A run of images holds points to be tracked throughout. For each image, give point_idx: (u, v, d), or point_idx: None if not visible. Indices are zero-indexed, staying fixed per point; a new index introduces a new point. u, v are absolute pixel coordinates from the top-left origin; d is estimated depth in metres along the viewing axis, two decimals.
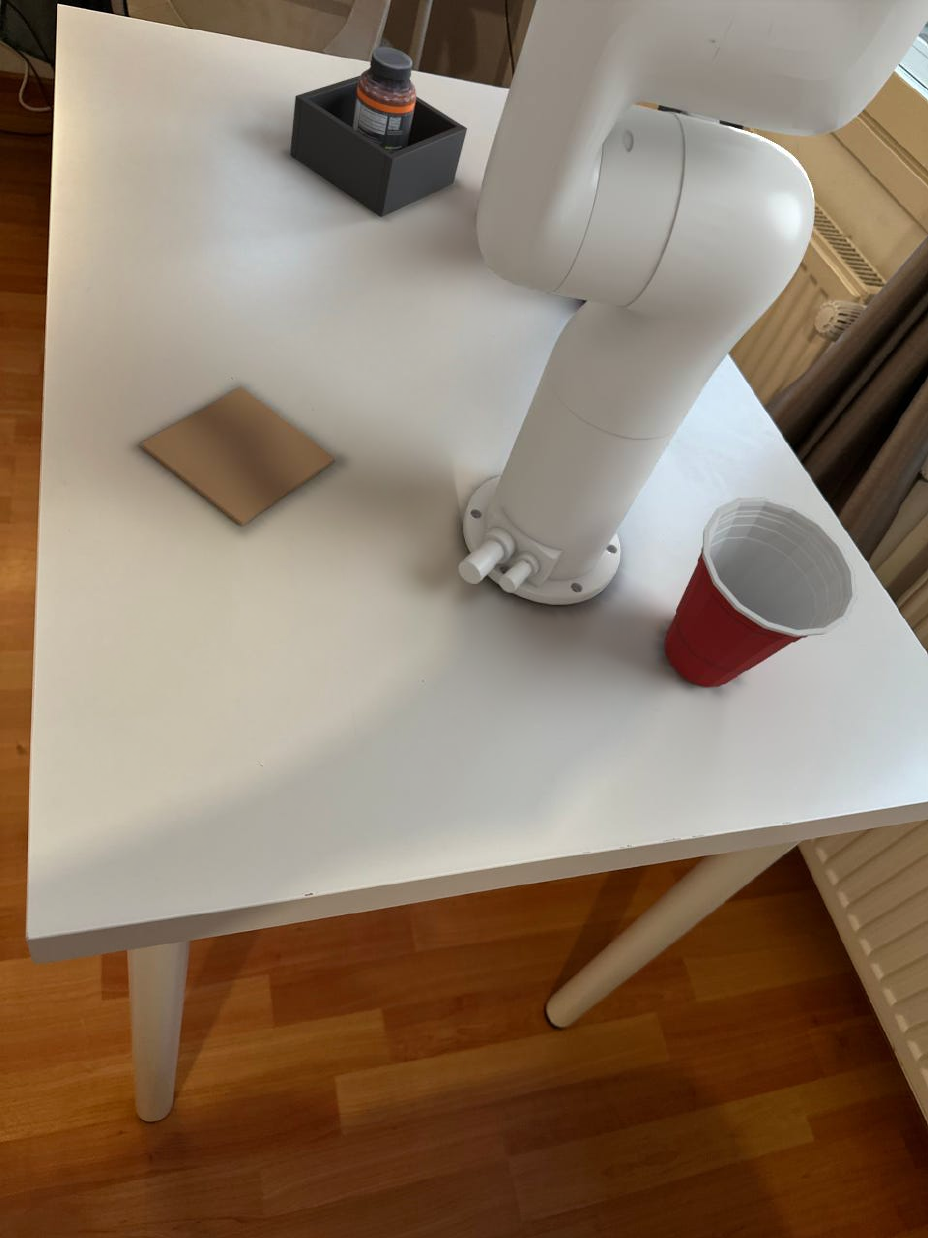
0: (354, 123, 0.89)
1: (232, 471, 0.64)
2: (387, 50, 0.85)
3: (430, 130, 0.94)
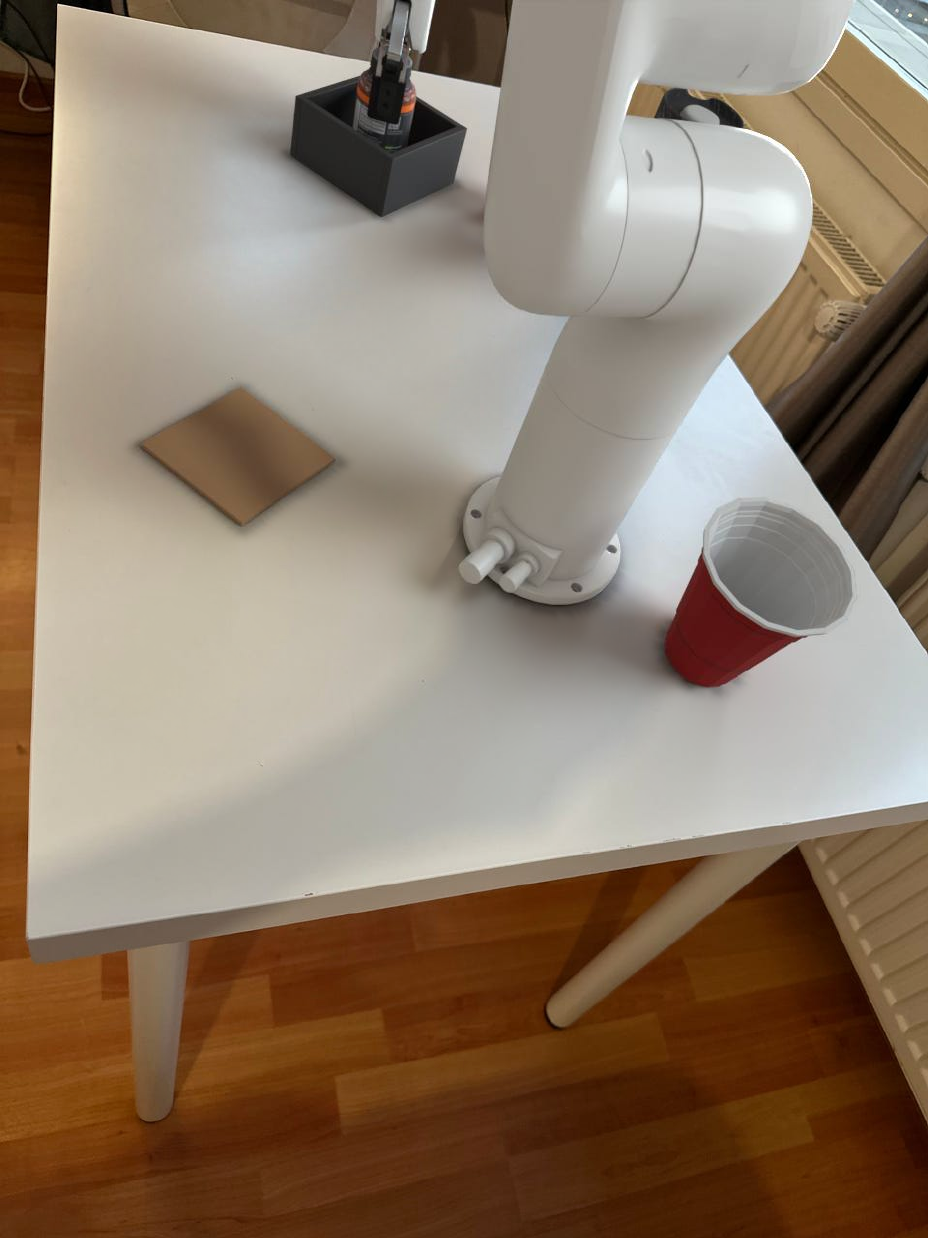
0: (354, 123, 0.89)
1: (232, 471, 0.64)
2: (387, 50, 0.85)
3: (430, 130, 0.94)
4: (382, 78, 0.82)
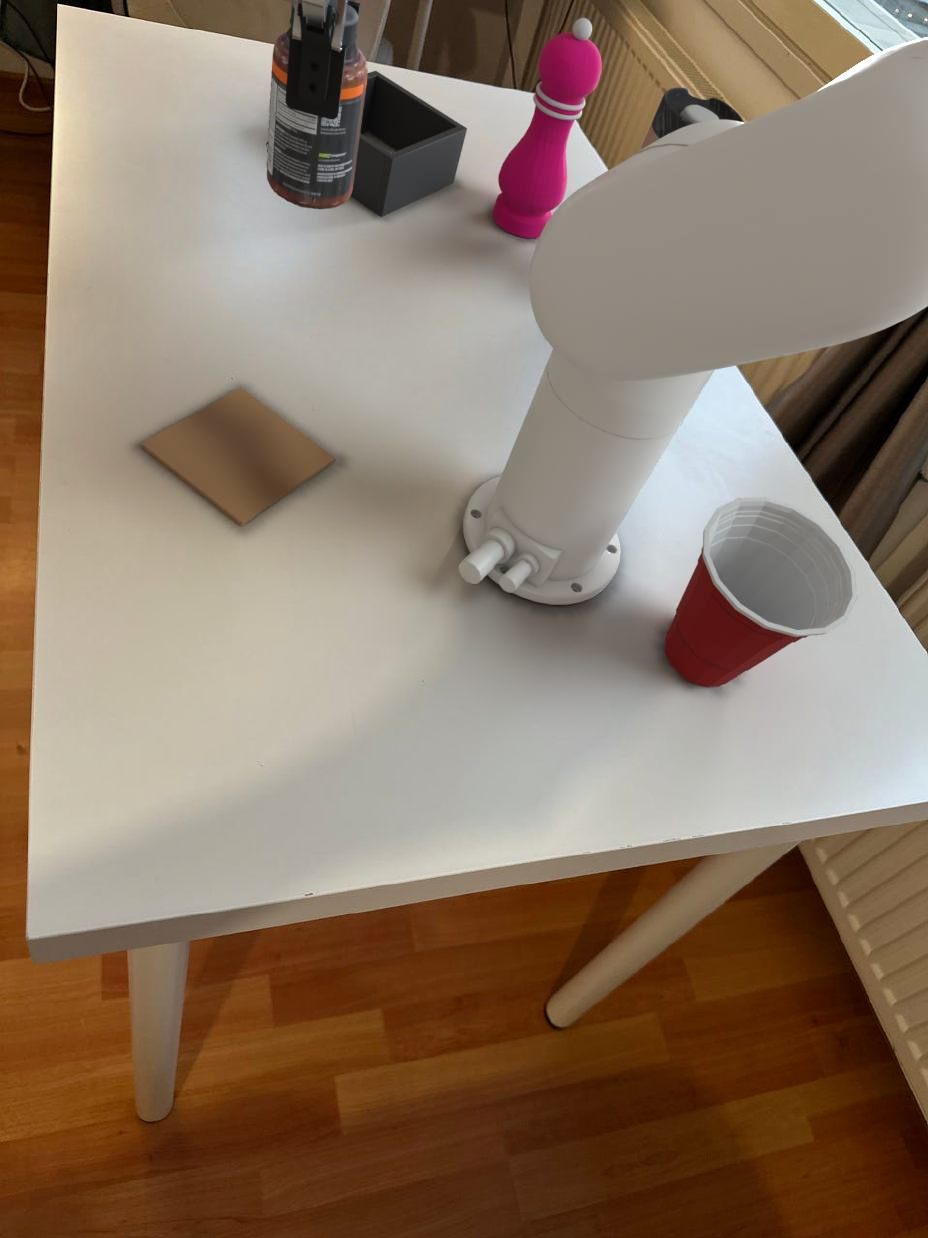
0: (270, 117, 0.56)
1: (232, 471, 0.64)
2: None
3: (430, 130, 0.94)
4: (304, 41, 0.50)
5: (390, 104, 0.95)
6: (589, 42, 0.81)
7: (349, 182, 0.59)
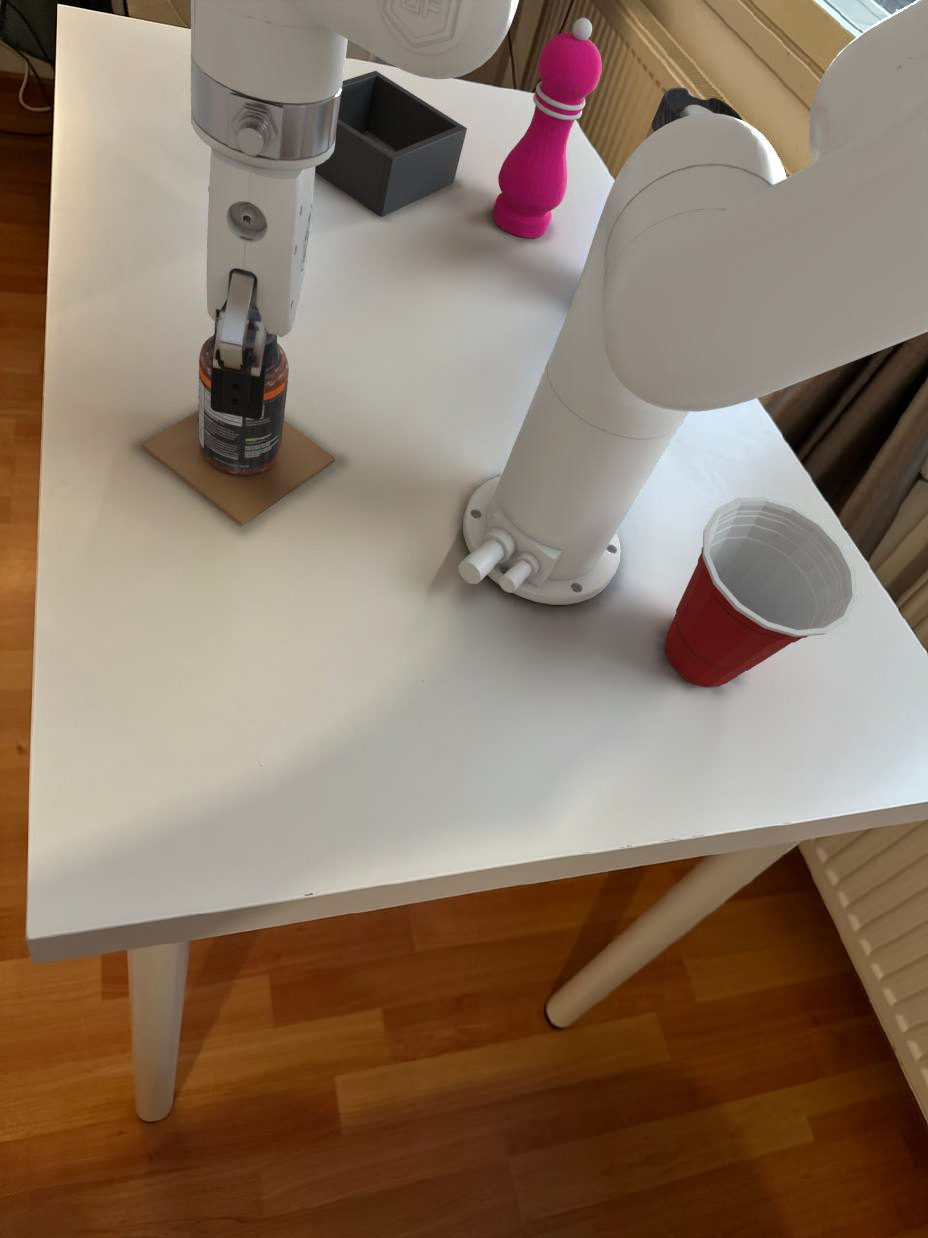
0: (200, 405, 0.61)
1: None
2: None
3: (430, 130, 0.94)
4: (224, 370, 0.52)
5: (390, 104, 0.95)
6: (589, 42, 0.81)
7: (276, 450, 0.64)
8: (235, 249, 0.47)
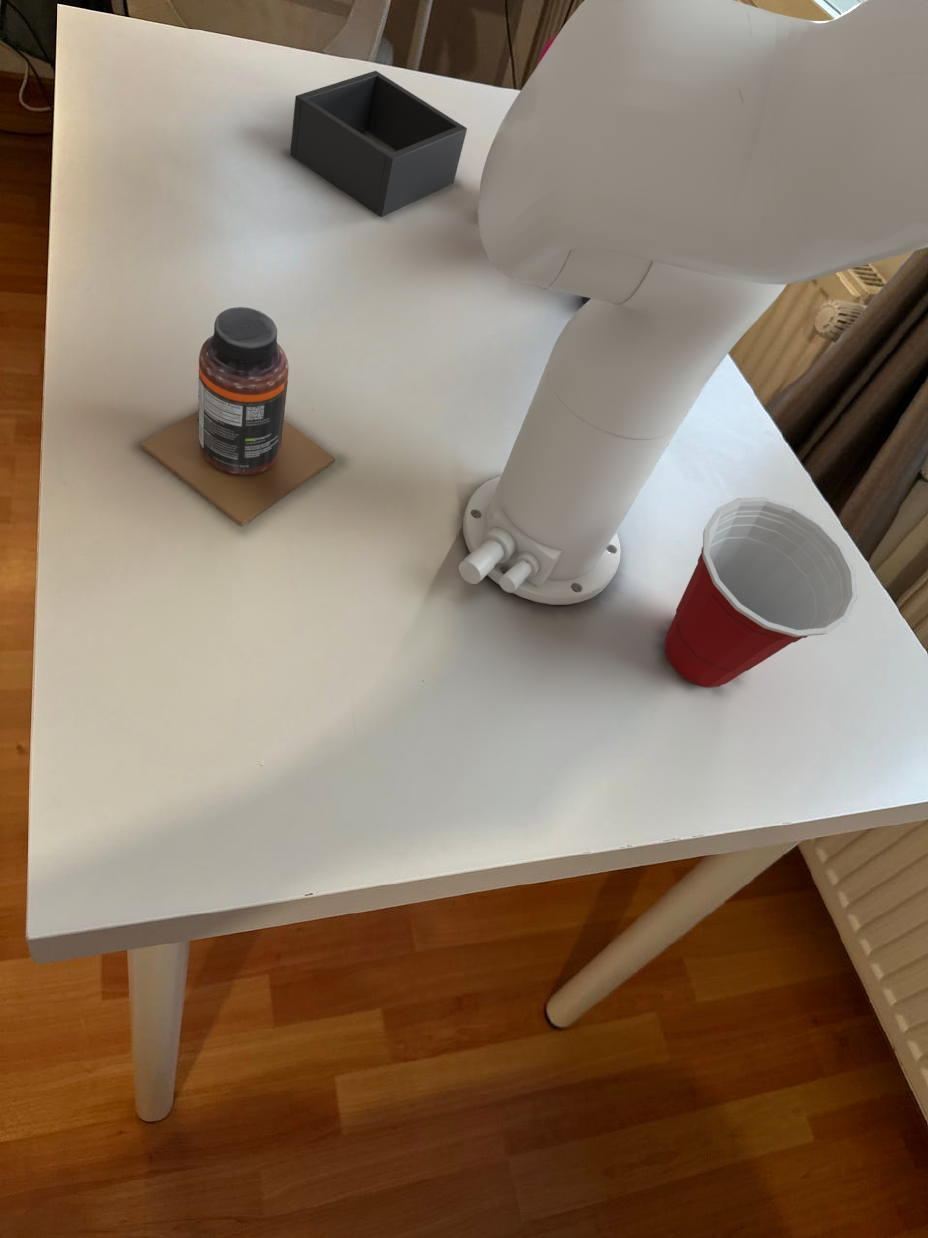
0: (199, 406, 0.61)
1: None
2: (239, 314, 0.57)
3: (430, 130, 0.94)
4: None
5: (390, 104, 0.95)
6: None
7: (276, 450, 0.64)
8: None
